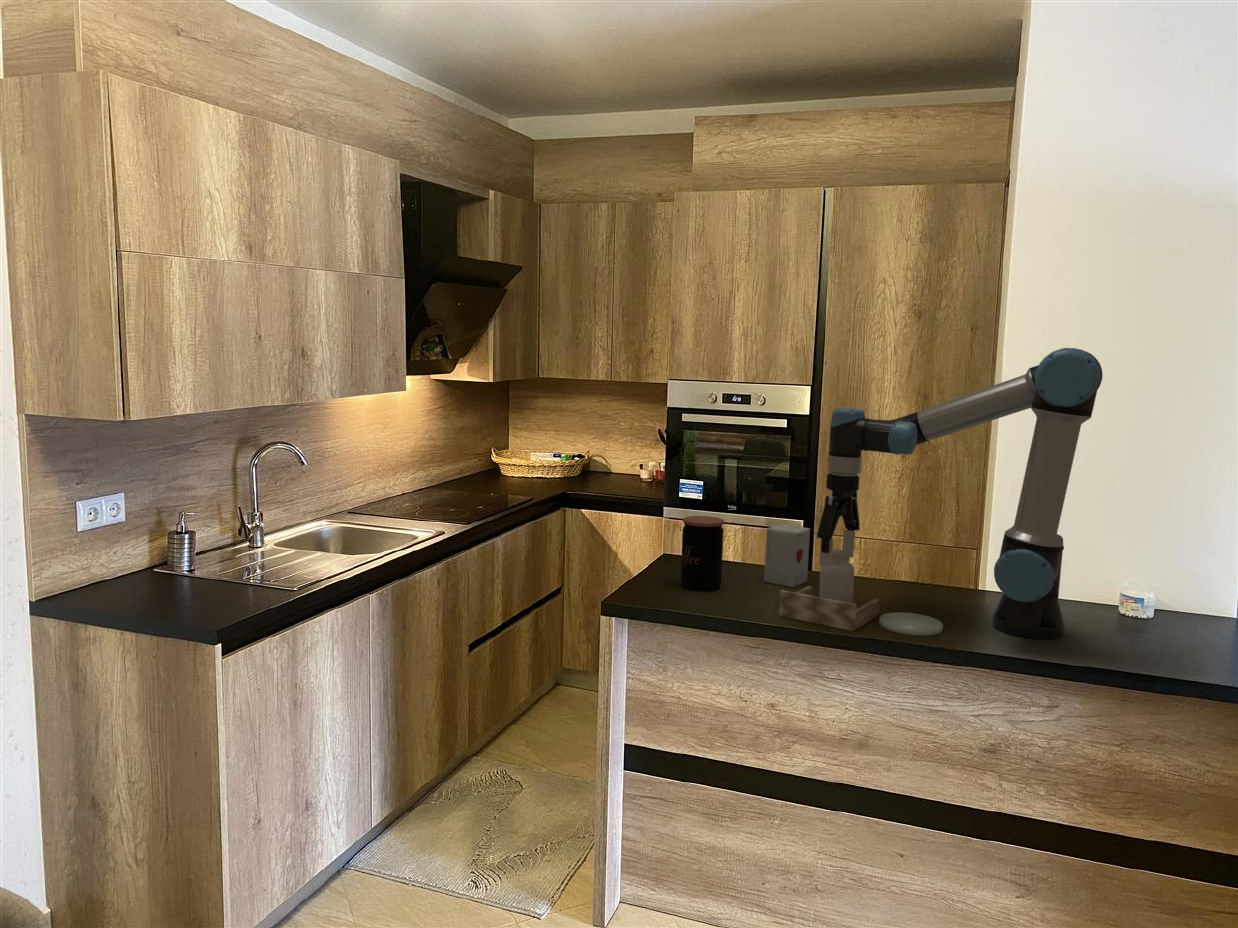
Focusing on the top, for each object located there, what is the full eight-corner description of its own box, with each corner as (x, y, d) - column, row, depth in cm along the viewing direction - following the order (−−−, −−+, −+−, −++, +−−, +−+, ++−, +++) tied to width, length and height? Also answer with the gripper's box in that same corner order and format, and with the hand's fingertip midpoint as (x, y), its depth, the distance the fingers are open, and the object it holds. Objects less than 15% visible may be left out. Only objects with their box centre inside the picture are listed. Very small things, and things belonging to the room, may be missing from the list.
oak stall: (878, 615, 220) (880, 591, 219) (853, 631, 207) (855, 605, 206) (807, 601, 231) (808, 578, 230) (778, 615, 218) (780, 590, 217)
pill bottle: (824, 605, 227) (827, 546, 225) (856, 611, 223) (860, 550, 221) (813, 613, 221) (817, 552, 219) (846, 619, 216) (850, 556, 215)
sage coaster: (950, 625, 214) (950, 620, 214) (931, 639, 203) (932, 634, 203) (891, 613, 222) (891, 608, 222) (870, 626, 211) (870, 621, 211)
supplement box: (793, 588, 244) (796, 532, 242) (763, 582, 249) (765, 527, 247) (808, 581, 251) (811, 527, 249) (778, 576, 256) (781, 523, 254)
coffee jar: (674, 582, 246) (677, 516, 244) (711, 580, 249) (714, 515, 247) (689, 592, 236) (692, 523, 233) (727, 590, 239) (730, 522, 237)
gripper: (848, 467, 230) (841, 550, 233) (806, 476, 210) (800, 567, 213) (877, 470, 226) (870, 555, 228) (837, 480, 205) (830, 573, 208)
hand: (836, 561), depth 220 cm, fingers open, 13 cm apart
